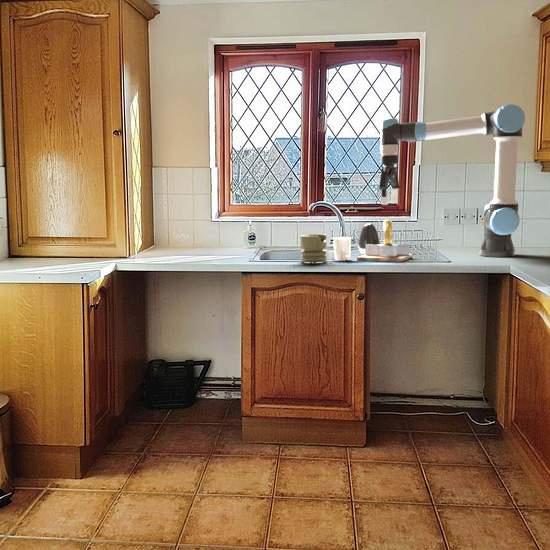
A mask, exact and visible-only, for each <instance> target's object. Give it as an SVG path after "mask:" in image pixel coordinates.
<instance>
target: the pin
mask: <svg viewBox="0 0 550 550" xmlns="http://www.w3.org/2000/svg"><path fill="white" fill-rule="evenodd" d="M383 244H384V245H387V246H388V245H392V244H393V219H384V220H383Z"/></svg>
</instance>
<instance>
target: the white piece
mask: <svg viewBox="0 0 550 550" xmlns="http://www.w3.org/2000/svg"><path fill="white" fill-rule="evenodd" d="M409 254H410V243H398V244H397V243H392V245H388V246H387V245H384V243H382V244H381V243H380V245H371V244H366V256H378V257H397V256H400V255H409Z"/></svg>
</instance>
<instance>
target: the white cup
mask: <svg viewBox="0 0 550 550" xmlns="http://www.w3.org/2000/svg"><path fill="white" fill-rule="evenodd" d="M332 240H333V253H334V260H335V261H337V262H339V261H340V262H346V260H347V261H350V259H351V249H352V246H351V245H352V238H351V237H349V236H339V237H336V236H335V237H333V238H332Z"/></svg>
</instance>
